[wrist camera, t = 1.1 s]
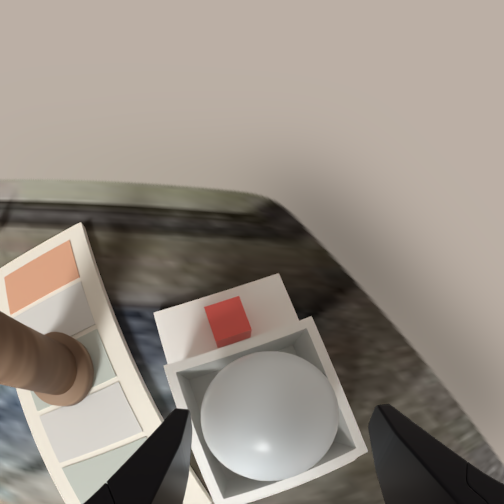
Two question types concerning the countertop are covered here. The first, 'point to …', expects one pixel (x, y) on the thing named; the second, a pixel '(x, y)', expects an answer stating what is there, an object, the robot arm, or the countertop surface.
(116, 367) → the game track
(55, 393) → the pawn
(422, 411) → the countertop surface
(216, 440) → the dome
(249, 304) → the base
